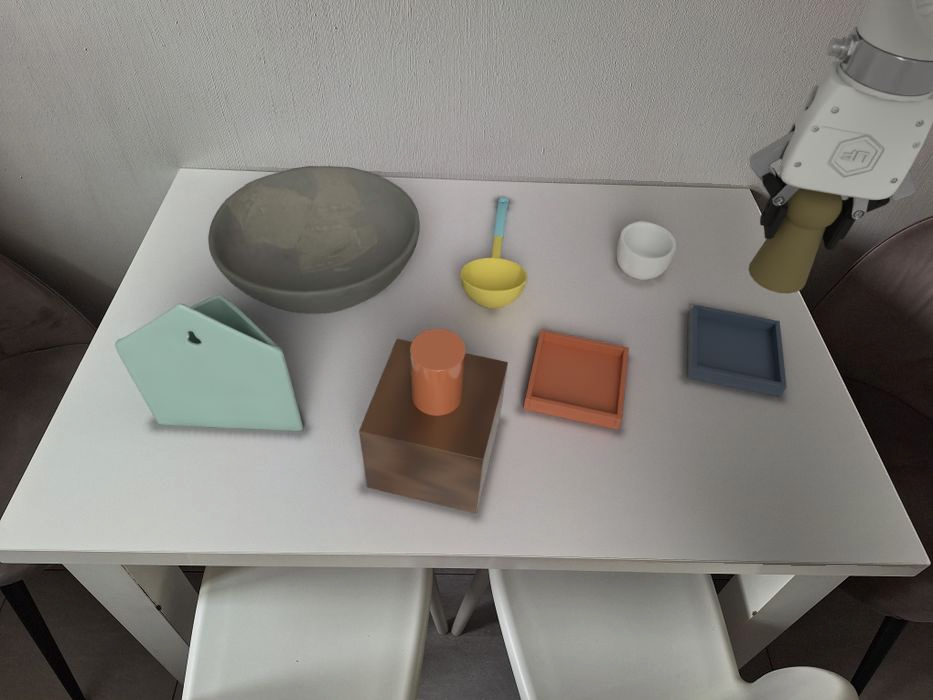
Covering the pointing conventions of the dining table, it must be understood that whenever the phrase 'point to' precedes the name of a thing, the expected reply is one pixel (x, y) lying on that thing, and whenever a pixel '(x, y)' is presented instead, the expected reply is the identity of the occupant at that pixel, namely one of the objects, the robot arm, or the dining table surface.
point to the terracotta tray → (578, 379)
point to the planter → (211, 369)
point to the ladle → (494, 271)
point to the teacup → (645, 250)
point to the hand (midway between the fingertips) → (797, 234)
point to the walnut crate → (432, 434)
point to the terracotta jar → (437, 371)
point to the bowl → (314, 237)
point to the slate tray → (735, 350)
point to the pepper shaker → (795, 242)
